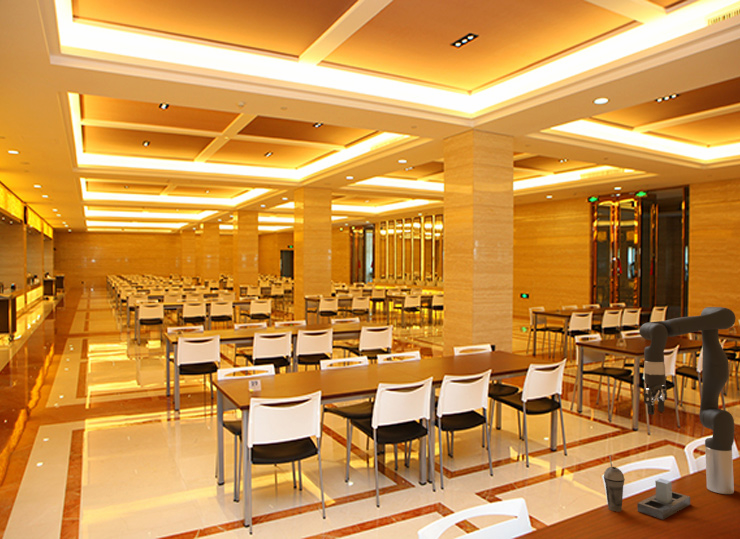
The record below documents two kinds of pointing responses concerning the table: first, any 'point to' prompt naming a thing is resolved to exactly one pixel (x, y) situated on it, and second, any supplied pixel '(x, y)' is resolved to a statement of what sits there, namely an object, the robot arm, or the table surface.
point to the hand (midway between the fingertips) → (656, 412)
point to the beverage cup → (614, 487)
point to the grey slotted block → (663, 505)
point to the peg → (663, 491)
